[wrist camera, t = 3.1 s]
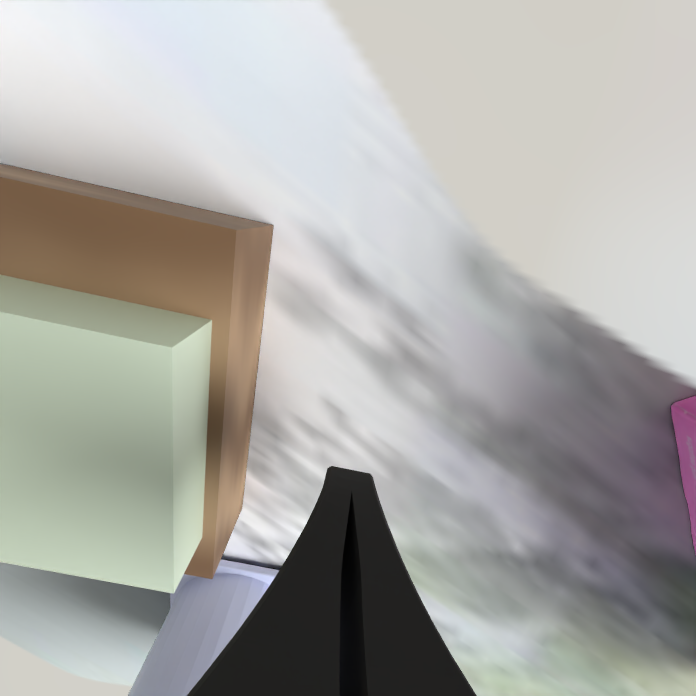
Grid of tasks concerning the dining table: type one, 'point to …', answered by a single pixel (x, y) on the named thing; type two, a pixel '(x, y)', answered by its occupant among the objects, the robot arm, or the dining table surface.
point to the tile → (101, 435)
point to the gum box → (687, 452)
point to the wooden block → (157, 297)
